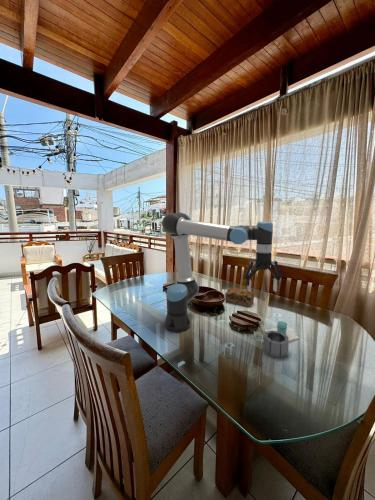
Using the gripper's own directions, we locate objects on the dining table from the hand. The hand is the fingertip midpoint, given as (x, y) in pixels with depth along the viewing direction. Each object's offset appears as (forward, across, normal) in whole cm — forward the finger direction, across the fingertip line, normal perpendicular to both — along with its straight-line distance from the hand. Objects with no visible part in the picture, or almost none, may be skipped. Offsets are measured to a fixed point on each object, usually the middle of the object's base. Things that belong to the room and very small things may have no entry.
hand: (262, 291), depth 115 cm
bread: (+23, -3, +38) cm, 44 cm away
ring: (+23, +2, -17) cm, 29 cm away
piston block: (+23, +10, -5) cm, 26 cm away
